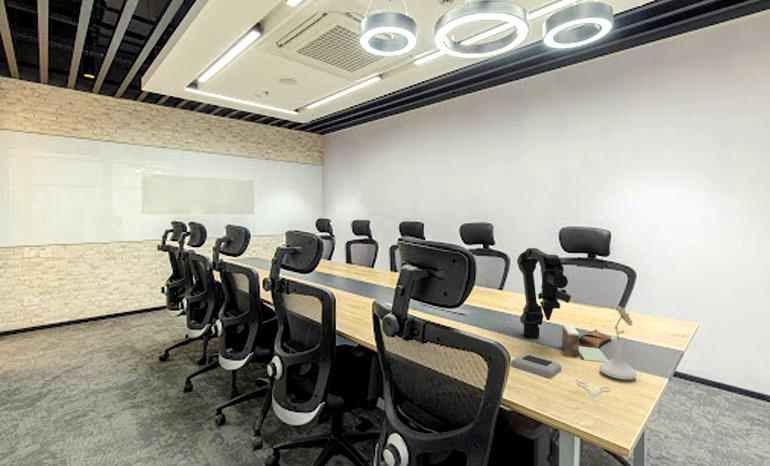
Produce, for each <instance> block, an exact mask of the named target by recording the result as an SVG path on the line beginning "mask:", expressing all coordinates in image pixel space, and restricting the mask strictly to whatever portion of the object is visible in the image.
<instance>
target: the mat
mask: <svg viewBox="0 0 770 466" xmlns="http://www.w3.org/2000/svg"><path fill="white" fill-rule="evenodd" d="M578 357H579V358H580V359H581V360H582V361H589V362H600V363H604V362H606V361H608V360H609V359H608V357H606V355H605V354H604V353H603V352H602V351H601V350H600V347H598V348H595V347H588V346H581V345H579V351H578Z"/></svg>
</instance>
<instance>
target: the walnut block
mask: <svg viewBox="0 0 770 466" xmlns="http://www.w3.org/2000/svg"><path fill="white" fill-rule="evenodd" d="M561 338H562V339H561V340H562V341H561V347H562V349H563V351H564V354H565V355H566V357H568V358H577V359H578V358H579V355H578V351H579V346H580V343H579V338H580V333H579V331H577V329H576V328H575V326H574V325H571V324H569V325H568V324H563V325H562V337H561Z"/></svg>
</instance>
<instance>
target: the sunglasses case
mask: <svg viewBox="0 0 770 466" xmlns="http://www.w3.org/2000/svg"><path fill="white" fill-rule="evenodd" d="M611 340H612V339H611V337H609V336H607V335H605V334H603V333H601V332H600V331H598V330H597V329H594V330H592V331H590V332H588V333H586V334H584V335H581V336H579V345H580V346H583V347H590V348H600V347H601V346H602V345H604V344H606V343H608V342H610V341H611Z"/></svg>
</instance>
